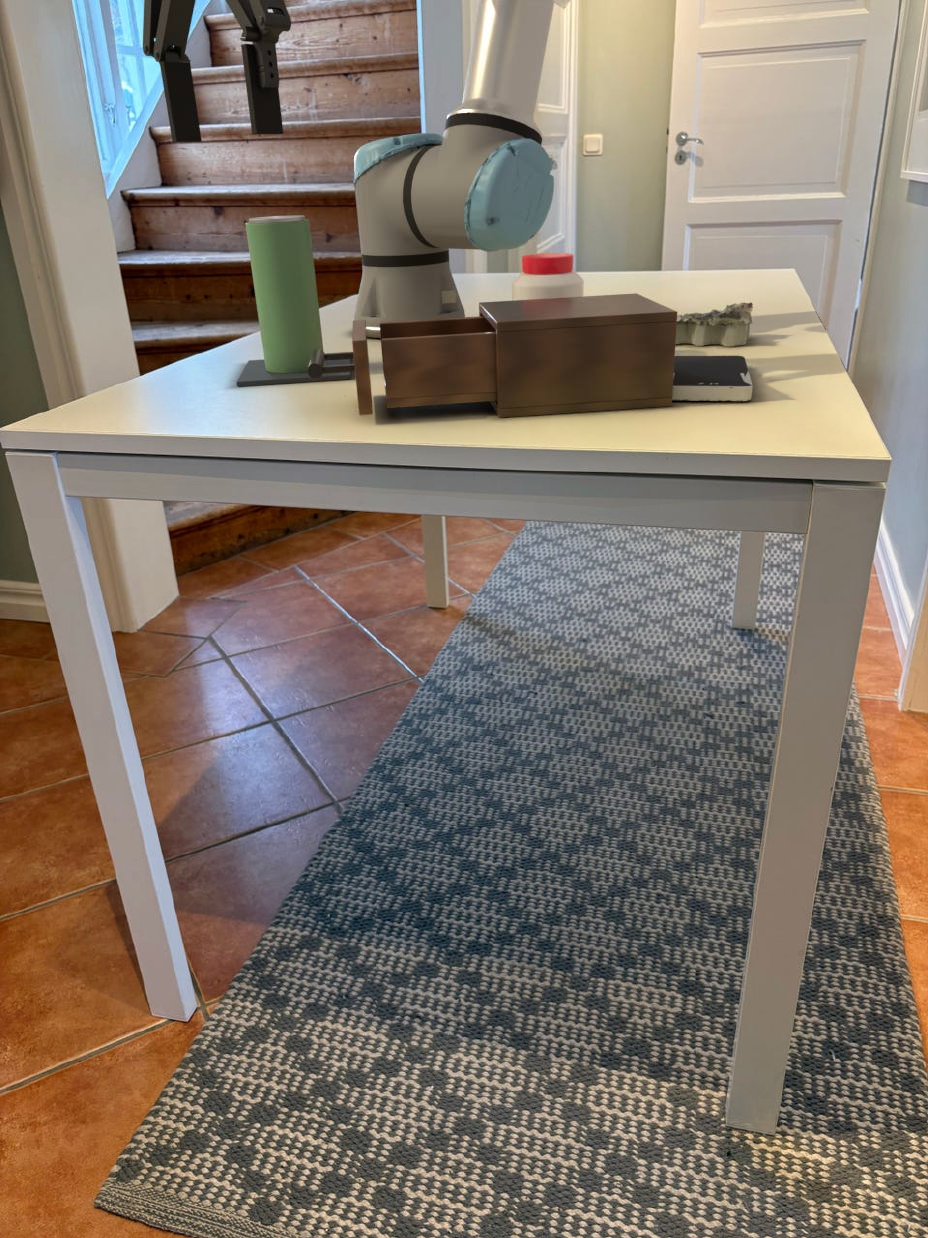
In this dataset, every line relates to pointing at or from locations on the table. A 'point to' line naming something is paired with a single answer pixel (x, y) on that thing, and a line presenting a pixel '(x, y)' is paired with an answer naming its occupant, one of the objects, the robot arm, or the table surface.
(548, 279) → the pill bottle
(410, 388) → the drawer
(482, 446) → the table surface
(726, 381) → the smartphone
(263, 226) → the can
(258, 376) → the mat
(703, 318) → the egg carton
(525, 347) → the cabinet
